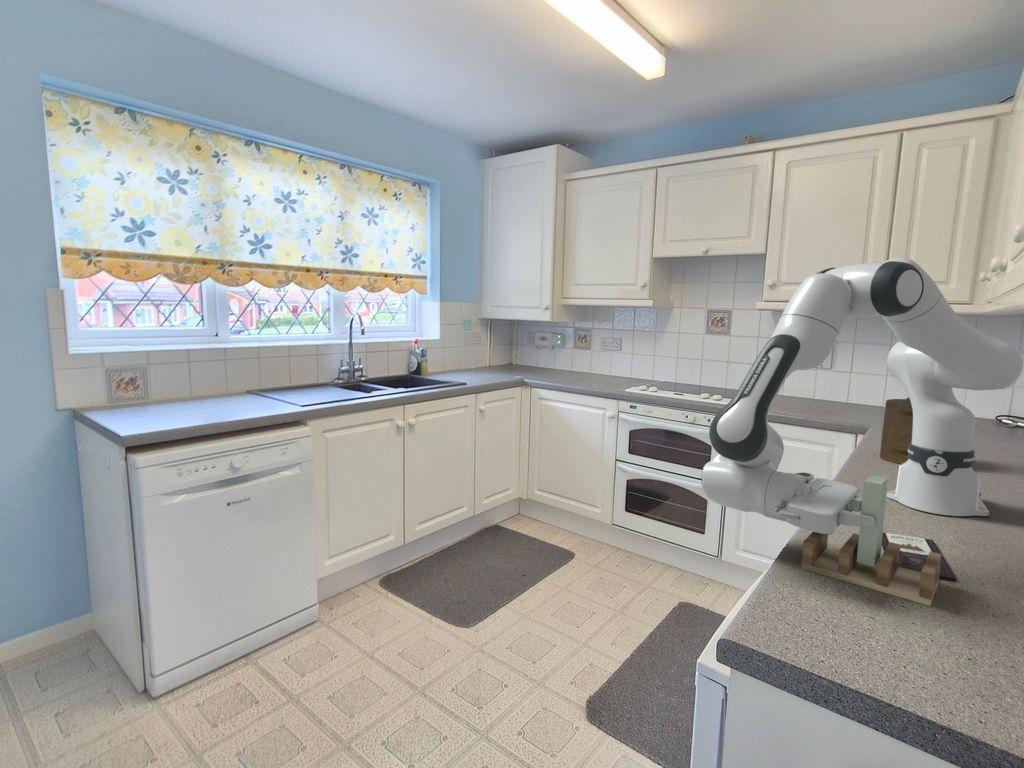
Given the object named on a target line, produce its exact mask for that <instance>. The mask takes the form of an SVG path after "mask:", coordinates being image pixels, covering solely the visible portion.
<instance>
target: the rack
mask: <svg viewBox="0 0 1024 768" xmlns="http://www.w3.org/2000/svg"><path fill="white" fill-rule="evenodd" d="M828 536H829V534H821V533H817V532H813V531H811V533H810V534H809V535H808V536H807V537H806V538H805V539H804V540H803V542H802V543H803V544H802V557H801V569H802V570H806V571H808V572H812V573H816V574H819V575H822V576H826V577H830V578H833V579H837V580H839V581H843V582H846V583H850V584H853V585H857V586H860V587H863V588H867V589H870V590H875V591H877V592H880V593H883V594H884V593H885V594H887V595H892V596H895V597H897V598H901V599H904V600H908V601H912V602H915V603H919V604H922V605H925V606H929V607H931V605H932V602H933V599H934V597H935V595H936V591H937V588H938V586H939V580H940V579H939V572H940V562H941V554H942V553H941V554H939V553H934V552H929V555H928V557H927V559H926V562H925V564H924V566H923V569H922V571H921V572H917V571H913V570H909V569H905V568H902V567H899V557H900V546H901V544H896V543H892V542H890V543H889V545H888V546H887V548H886V549H885V551H883V553H882V554H881V555H880V558H879V560H878V562H877V563H876V565H875V566H870V565H866V564H863V563H859V562H857V552H858V541H859V533H858V534H857V533H852V534H851V535H850V537H849V538H848V539H847V541H846V542H845V543H844V545H842V547H841V548H840V549H839V550H836V549H833V548H828V539H829V537H828Z"/></svg>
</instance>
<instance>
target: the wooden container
mask: <svg viewBox="0 0 1024 768" xmlns="http://www.w3.org/2000/svg"><path fill="white" fill-rule="evenodd" d="M882 423H883V424H882V430H881V442H880V454H879V457H880V458H881V459H882V460H885V461H887V462H890V463H894V464H899V465H902V464H903V463H905V462H906V461H907V460H908V459H909V458H908V448H909V443H911V442H912V429H913V410H912V405H911V401H910V398H909V396H907V398H904V399H903V398H897V399H896V398H891V399H889V398H888V399H886V400H885V405H884V415H883V422H882Z"/></svg>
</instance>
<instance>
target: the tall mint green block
mask: <svg viewBox="0 0 1024 768" xmlns="http://www.w3.org/2000/svg"><path fill="white" fill-rule="evenodd" d="M888 479H889V478H888V477H886V476H885V477H884V476H879V475H875V474H874V475H872V474H869V476H867V477H866V478H865V479H864V480H863V485H862V494H861V495H862V496H861V499H862V506H861V512H860V514H863V513H865V514H869V515H874V516H875V517H876V524H875V526H874V527H873V528H869V527H864V526H859V529H858V530H859V533H858V535H859V541H858V552H857V562H859V563H863V564H866V565H870V566H875V565H876V563H877V562H878V561H879V559H880V558H881V556H882V554H881V553H882V534H883V532H884V523H885V521H884V520H885V512H886V511H885V510H886V502H887V501H886V500H887V499H886V498H887V489H888Z"/></svg>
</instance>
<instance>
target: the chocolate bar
mask: <svg viewBox="0 0 1024 768" xmlns="http://www.w3.org/2000/svg"><path fill="white" fill-rule="evenodd" d="M890 542H892V543H896V544H901V546H900V557H899V567H902V568H905V569H909V570H913V571H917V572H921V571H922V569H923V566H924V564H925V562H926V559H927V557H928V555H929V552H934V553H939V554H941V562H940V572H939V580H943V581H947V582H949V581H950V582H954V583H956V582H957V578H956V576H955V574H954V573H953V571H952V569H951V568H950V566H949V564H948V563H947V561H946V559H945V558H944V556H943V554H942V553H941V551H940V550H939V548H938V546H937V544H936V543H935V540H934V539H929V538H923V537H922V538H921V537H916V536H909V535H903V534H895V533H889V532H884V531H883V534H882V545H881V548H882V547H883V548H882V551H883V550H884V551H885V549H886V548H887V546H888V545H889V543H890ZM884 551H883V552H884Z"/></svg>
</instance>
